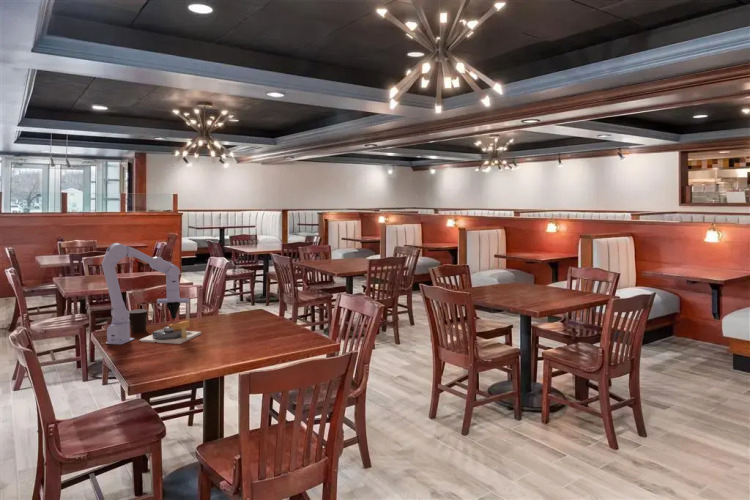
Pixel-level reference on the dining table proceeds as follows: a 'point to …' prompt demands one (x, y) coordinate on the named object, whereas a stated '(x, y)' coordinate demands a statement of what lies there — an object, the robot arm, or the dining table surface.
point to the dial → (171, 331)
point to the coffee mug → (138, 320)
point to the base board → (185, 336)
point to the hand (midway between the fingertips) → (174, 318)
